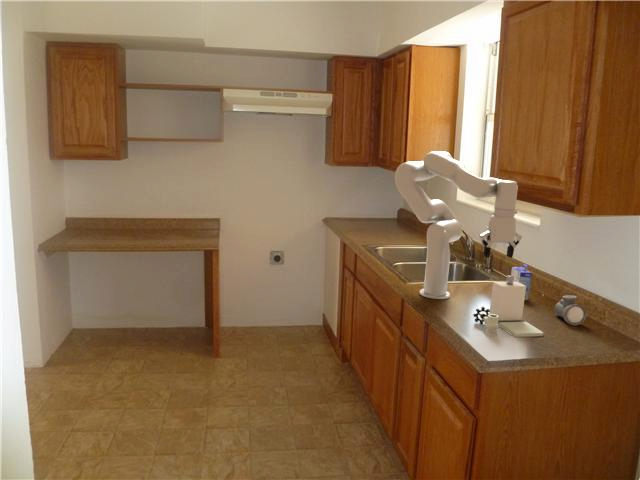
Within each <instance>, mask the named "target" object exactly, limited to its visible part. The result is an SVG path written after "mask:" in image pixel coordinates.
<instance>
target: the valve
mask: <svg viewBox="0 0 640 480" xmlns="http://www.w3.org/2000/svg"><path fill="white" fill-rule="evenodd" d="M480 308H481V309H480ZM480 308H476V309H475V312H476V313H473V314H472V316H473V317H474V322H475V323H478V322H479V324H480V325H483V324H484V325H485V326H486V328H485V333H486V334H487V335H489V336H497V334H498V328H499V324H498V321H499V317H498V316H497V315H494V314H489V312H490V308H487V309H486V307H484V306H481V307H480ZM482 312H484V313H482Z"/></svg>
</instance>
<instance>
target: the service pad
mask: <svg viewBox="0 0 640 480" xmlns="http://www.w3.org/2000/svg"><path fill="white" fill-rule="evenodd" d="M498 327H500V328H502V330H504V331H506V332H507V333H509V334H510V335H512V337H514V338H519V337H520V338H525V337H544V334H545V333H544V331H541V330H540V329H539V328H537V327H535V326H534V325H532V324H531V323H529V322H527V321H524V322H499V325H498Z"/></svg>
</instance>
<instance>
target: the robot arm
mask: <svg viewBox="0 0 640 480" xmlns="http://www.w3.org/2000/svg"><path fill="white" fill-rule="evenodd" d="M437 176H438V177H440V178H442V179H444V180H445V181H448V182H449V183H452V184H453V186H455V187H456V188H457V189H458V190H460V191H462V192H463V193H466V194H468V195H470V196H472V197H475V198H478V199H485V198H495V199H494V208H493V215H490V218H489V220H488V222H487V223H488V224H487V227H486V231H485V232H483V233H481V234H479V235H478V236H479V239H480V242H481V244H482V245H483V247H484V248H483V256H484V257H486V258H490V257H491V249H492V248H491V246H492V245H493V244H508V246H507V247H506V248H507V249H506V250H507V251H506V256H507V257H508V258H509V259H513V257H514V254H515V253H514V252H515V248H517V246H518V244H519V243H520V241H521V240H522V237H523V236H522V235H520V234H518V233H517V232H516V230H517V229H516V227H517V226H516V225H517V224H516V217H515V215H517V214H518V211H517V210H516V205H517V196H518V190H519V184H518V185H517V183H518V182H517V181H515V180H509V179H508V180H507V179H501V178H500V179H499V178H496V177H479V176H477V175H475V174H473V173H470V172H469V171H467V170H466V167H465V164H464V163H463V162H460V161H459V160H456V159H454V158H453V156H452V155H451V154H450V153H449V152H447V151H441V150H440V151H439V150H438V151H430V152H428V153H426V154H425V156H424V157H423V159H422V160H420V161H405V162H402V163H401V164H399V165H398V166H397V168H396V170H395V173H394V182H395V185H396V189H397V190H398V192H399V193H400V195H401V196H402V197H403V198H404V200H405V201H406V203H407V204H408V206H409V207H410V209H411V210H412V212H413V213H414V215H415V216H416V218H417V219H418V220H419V222H421V223H422V224H423V223H424V224H430V225H429V227H428V228H427V230H426V242H427V243H426V245H427V249H426V261H425V271H424V279H423V280H424V282H423V288H421V289H419V295H420V296H422V297H424V298H428V299H432V300H446V299H449V298H450V296H451V293H450V292H449V291H447V290H448V282H449V281H448V280H449V272H450V271H449V270H450V261H451V249H450V243H454V242H456V241H459V240H460V238H461V237H462V235H463V227H462V223H460V221H459V220H458V218H457V217H456V215H455V214H454V212H453V211H452V210H451V208H450V207H449V206H448V205H447V204H446V202H444V200H441V199H431V198H430V197H429V196H428V195H427V193H426V192H425V191H424V189H423V187H421V186H420V185H419V184H418V183H416V182H423V181H427V180H429V179H432V178H435V177H437ZM431 223H432V224H431Z"/></svg>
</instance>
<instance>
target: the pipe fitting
mask: <svg viewBox="0 0 640 480" xmlns="http://www.w3.org/2000/svg"><path fill="white" fill-rule="evenodd" d="M577 300H578V296H576V295H572V294H567V295H563V296H562V299H560V301H559V302H557V303H556V304H555V305H554V307H553V308H554V309H553V311H554V313H555V314H556V315H557V316H558V317H560V318H563V320H564V321H565V322H566V323H568V325H571V326H573V327H575V326H579V325H582V324H583V323H584V322H585V320H586V318H587V311H586V309H585V307H584V306H582V305H581V304H578V303H577Z"/></svg>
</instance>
